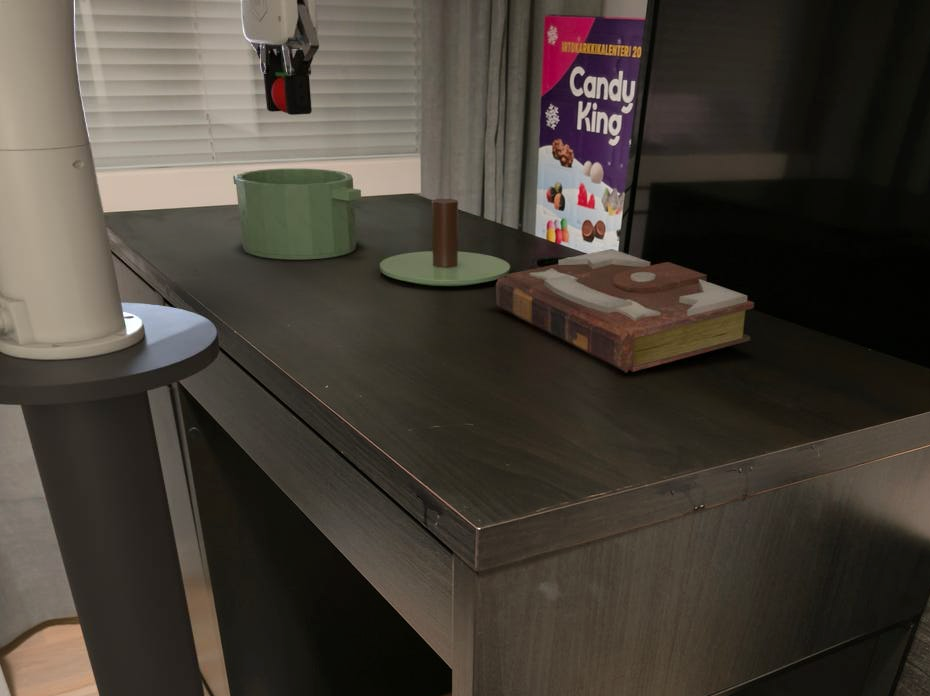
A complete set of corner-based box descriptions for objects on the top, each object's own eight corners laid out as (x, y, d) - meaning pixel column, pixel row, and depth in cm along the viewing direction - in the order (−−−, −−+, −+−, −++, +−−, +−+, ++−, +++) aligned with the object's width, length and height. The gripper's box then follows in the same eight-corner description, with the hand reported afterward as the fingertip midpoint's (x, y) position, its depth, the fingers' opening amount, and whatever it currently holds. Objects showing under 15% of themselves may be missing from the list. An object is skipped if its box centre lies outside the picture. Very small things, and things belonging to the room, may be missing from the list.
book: (497, 317, 98) (494, 268, 95) (618, 290, 103) (619, 243, 100) (620, 383, 81) (622, 326, 78) (757, 346, 86) (764, 291, 83)
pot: (318, 268, 112) (312, 191, 107) (206, 246, 121) (196, 174, 116) (394, 249, 122) (391, 178, 117) (284, 230, 131) (278, 163, 126)
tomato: (284, 115, 110) (279, 63, 107) (267, 112, 113) (262, 61, 110) (312, 114, 113) (308, 63, 110) (295, 111, 115) (291, 61, 112)
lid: (460, 297, 101) (460, 218, 97) (353, 276, 109) (348, 201, 104) (534, 272, 112) (537, 199, 108) (432, 254, 119) (431, 185, 115)
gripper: (207, -76, 105) (229, 108, 116) (282, -82, 95) (298, 120, 105) (265, -71, 110) (281, 105, 120) (342, -78, 99) (353, 117, 110)
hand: (289, 110), depth 113 cm, fingers closed on tomato, 3 cm apart
